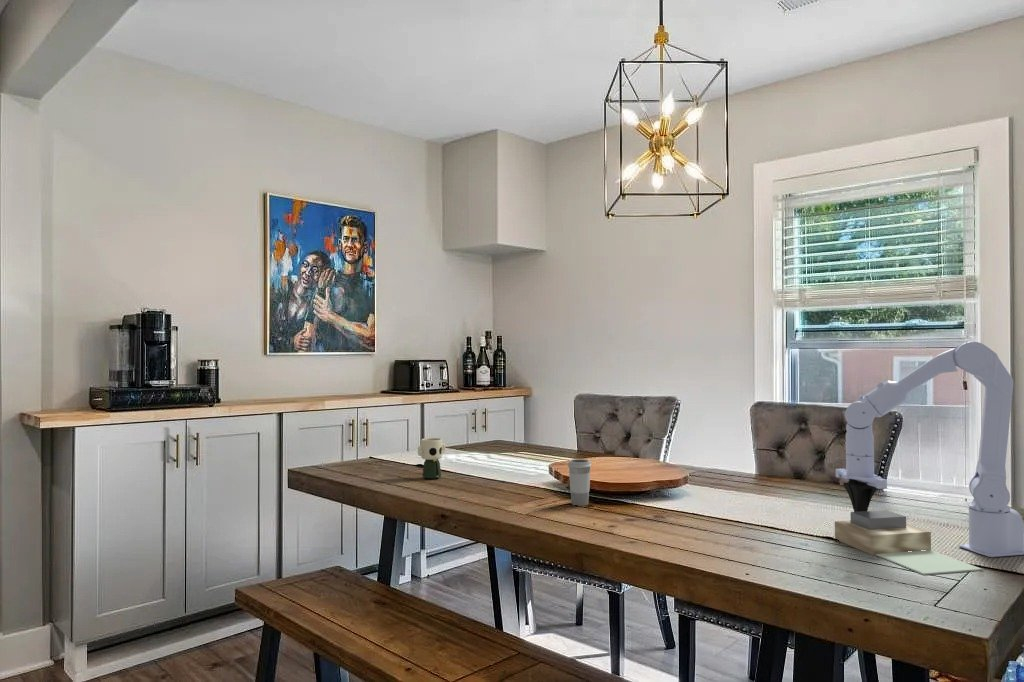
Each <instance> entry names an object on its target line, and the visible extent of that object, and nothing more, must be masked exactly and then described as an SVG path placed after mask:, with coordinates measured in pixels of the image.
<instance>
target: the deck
mask: <svg viewBox="0 0 1024 682" xmlns="http://www.w3.org/2000/svg"><path fill="white" fill-rule="evenodd" d="M835 538H836V539H838V540H839V541H838V540H837V541H838V542H841V543H843V544H845V545H848V546H850V547H852V548H855V549H858V550H860V551H863V552H865V553H867V554H869V555H872V556H877V555H876V554H885V553H898V552H908V551H921V550H932V532H931V531H930V530H927V529H924V528H920V527H918V526H915V525H911V524H908V523H906V528H892V529H877V530H868V529H866V528H863V527H860V526H857V525H855V524H852V523H851V519H850V520H837V521H836V520H835V521H834V539H835Z"/></svg>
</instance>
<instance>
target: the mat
mask: <svg viewBox="0 0 1024 682" xmlns="http://www.w3.org/2000/svg"><path fill="white" fill-rule="evenodd" d="M875 556H877V557H879V558H881V559H884V560H887V561H889V562H891V563H893V562H894V564H896V563H897V564H896V565H898V564H899V566H901V567H903V568H905V567H906V569H908V570H910V569H911V571H913V572H915V573H917V574H920V575H923V576H927V575H940V574H951V573H952V574H953V573H954V574H955V573H968V572H976V571H983V568H981V567H978V566H975V565H973V564H970V563H967V562H964V561H962V560H959V559H956V558H954V557H951V556H949V555H946V554H943V553H940V552H937V551H934V550H932V549H931V550H926V551H912V552H898V553H885V554H876V555H875Z"/></svg>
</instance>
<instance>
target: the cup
mask: <svg viewBox="0 0 1024 682" xmlns="http://www.w3.org/2000/svg"><path fill="white" fill-rule="evenodd" d="M592 465H593V464H592V463H591V460H590V459H588V458H586V459H585V458H572V459H569V460H568V463H567V466H566V467H568V468H569V471H568V473H569V474H568V477H569V479H568V480H569V491H570V501H571V505H573V506H575V505H578V506H577V507H584V506H585V505H586V506H588V505H589V498H590V496H589V495H590V493H589V492H590V486H591V485H590V483H591V467H592Z"/></svg>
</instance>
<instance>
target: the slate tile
mask: <svg viewBox="0 0 1024 682" xmlns="http://www.w3.org/2000/svg"><path fill="white" fill-rule="evenodd" d="M850 520H851V523H852V524H855V525H857V526H860V527H863V528H866V529H868V530H877V529H892V528H906V524H907V516H906V515H903V514H900V513H897V512H894V511H890V510H888V509H882V510H880V509H879V510H868V511H861V512H854V511H851V512H850Z"/></svg>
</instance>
